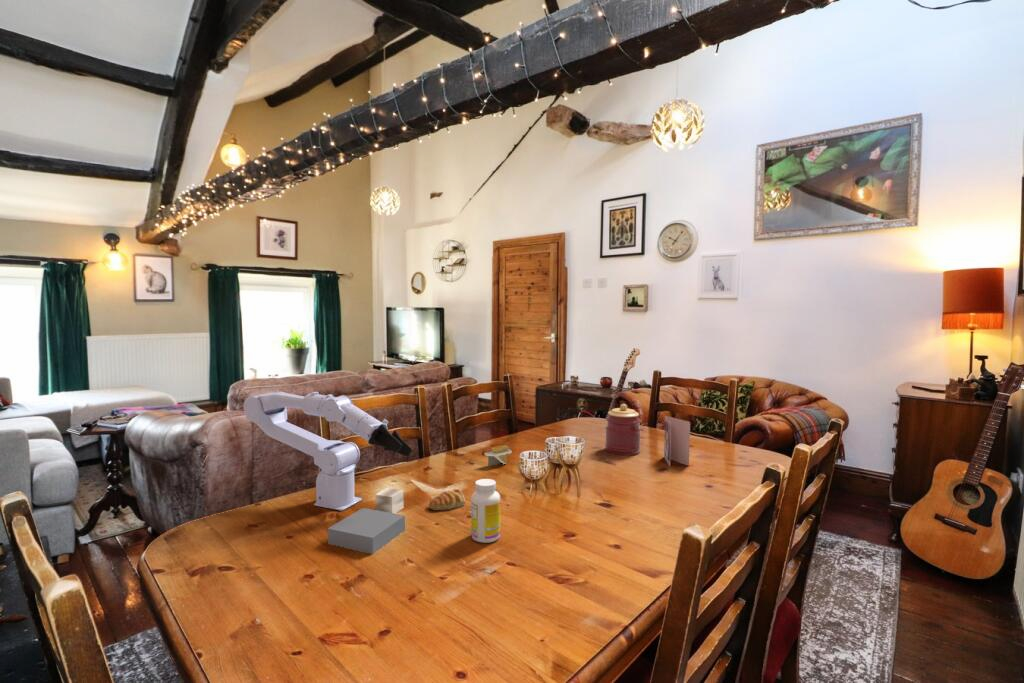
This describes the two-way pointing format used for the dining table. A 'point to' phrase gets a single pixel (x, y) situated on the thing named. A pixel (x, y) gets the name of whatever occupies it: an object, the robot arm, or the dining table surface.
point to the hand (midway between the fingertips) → (405, 450)
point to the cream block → (390, 500)
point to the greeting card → (676, 440)
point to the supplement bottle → (485, 512)
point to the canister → (623, 431)
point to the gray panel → (366, 530)
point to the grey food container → (498, 455)
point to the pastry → (448, 500)
